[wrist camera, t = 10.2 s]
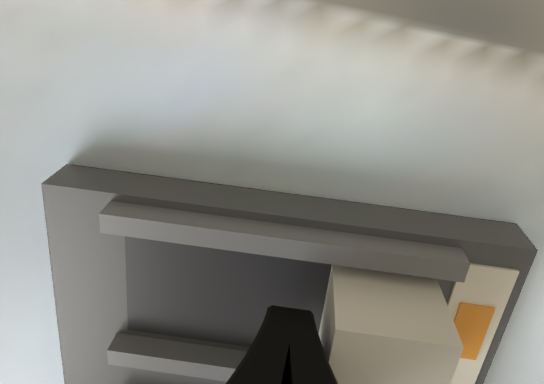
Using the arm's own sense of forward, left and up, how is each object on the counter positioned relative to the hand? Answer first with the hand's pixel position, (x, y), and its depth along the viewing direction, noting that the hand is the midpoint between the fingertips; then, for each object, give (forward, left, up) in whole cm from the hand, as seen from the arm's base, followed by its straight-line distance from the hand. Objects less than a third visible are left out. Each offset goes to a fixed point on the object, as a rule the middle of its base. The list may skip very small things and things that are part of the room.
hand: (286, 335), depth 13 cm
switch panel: (-7, 0, -3) cm, 8 cm away
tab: (0, -2, -1) cm, 3 cm away
